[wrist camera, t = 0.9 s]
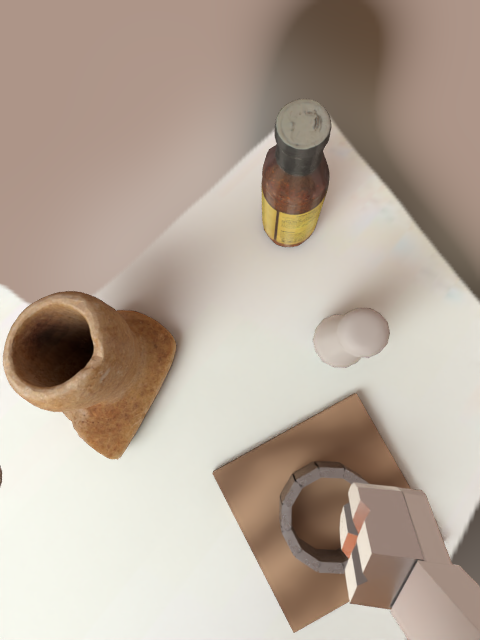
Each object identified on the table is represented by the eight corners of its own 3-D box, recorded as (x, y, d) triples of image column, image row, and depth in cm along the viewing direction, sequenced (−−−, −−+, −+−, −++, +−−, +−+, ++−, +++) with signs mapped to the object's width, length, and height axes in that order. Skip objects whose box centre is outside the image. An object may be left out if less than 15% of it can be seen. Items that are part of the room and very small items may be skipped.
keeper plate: (439, 543, 44) (444, 547, 43) (292, 627, 44) (293, 633, 43) (354, 393, 47) (356, 393, 46) (213, 471, 46) (212, 473, 45)
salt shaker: (354, 373, 47) (393, 375, 34) (304, 360, 47) (324, 356, 34) (366, 324, 48) (408, 306, 35) (317, 311, 48) (341, 289, 35)
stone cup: (104, 291, 49) (40, 257, 34) (191, 340, 48) (164, 327, 33) (36, 405, 47) (-63, 421, 33) (124, 458, 46) (64, 499, 32)
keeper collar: (391, 530, 44) (401, 542, 41) (308, 577, 43) (312, 592, 40) (343, 444, 45) (350, 449, 42) (262, 489, 45) (263, 497, 42)
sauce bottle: (324, 217, 49) (373, 114, 29) (295, 259, 49) (325, 184, 29) (278, 188, 50) (295, 68, 30) (249, 229, 49) (247, 135, 30)
